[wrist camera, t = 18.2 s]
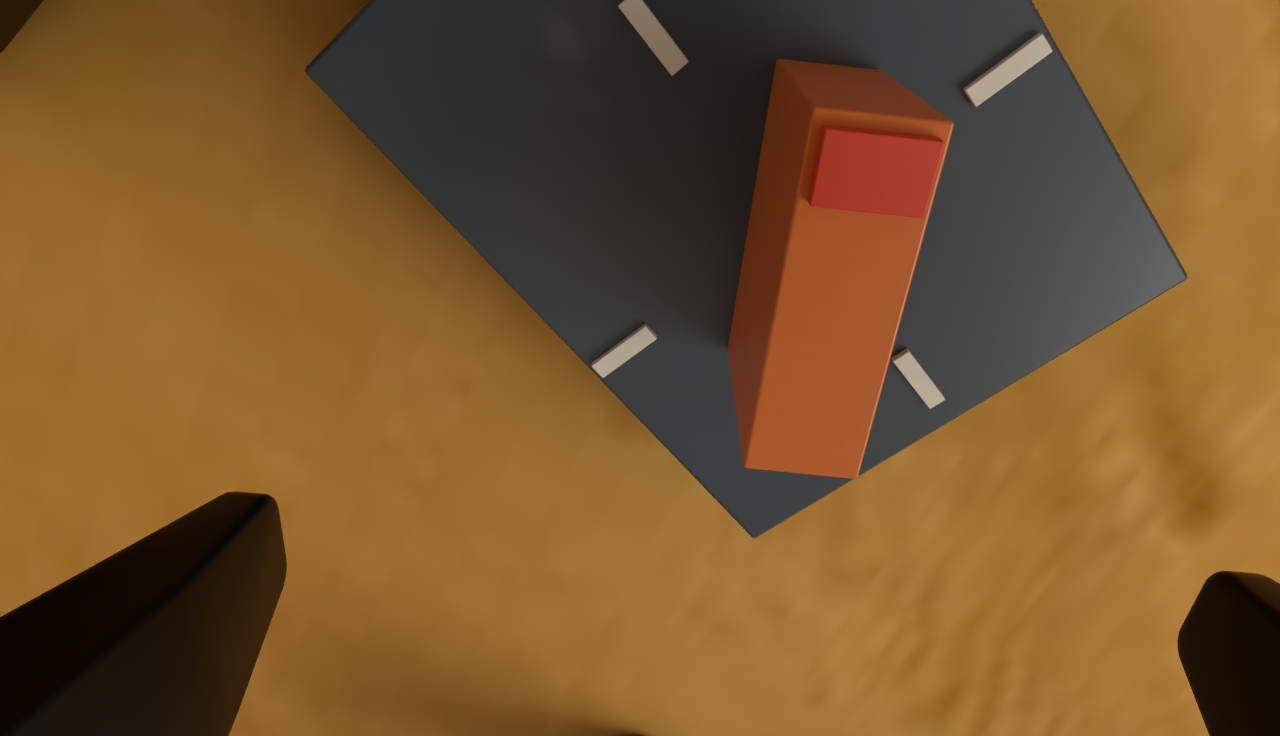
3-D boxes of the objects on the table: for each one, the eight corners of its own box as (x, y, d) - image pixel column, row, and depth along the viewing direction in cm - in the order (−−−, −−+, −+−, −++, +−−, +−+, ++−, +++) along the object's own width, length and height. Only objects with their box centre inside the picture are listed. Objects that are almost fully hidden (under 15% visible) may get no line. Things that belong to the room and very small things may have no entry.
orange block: (817, 360, 17) (861, 489, 13) (726, 351, 17) (744, 478, 13) (882, 70, 14) (962, 126, 10) (775, 57, 14) (816, 110, 10)
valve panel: (357, 46, 17) (297, 72, 14) (763, -368, 14) (788, -439, 11) (743, 463, 22) (753, 545, 19) (1115, 226, 18) (1196, 282, 16)
